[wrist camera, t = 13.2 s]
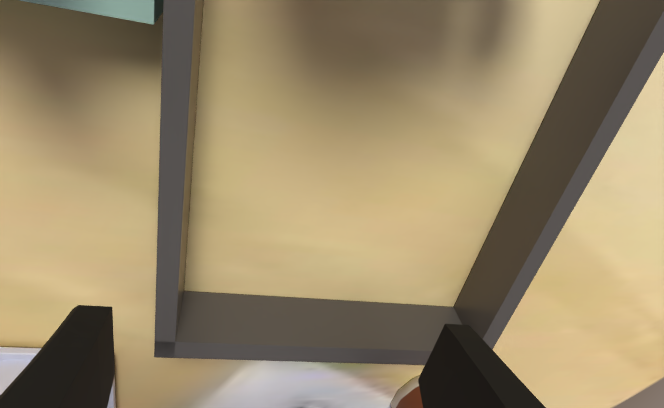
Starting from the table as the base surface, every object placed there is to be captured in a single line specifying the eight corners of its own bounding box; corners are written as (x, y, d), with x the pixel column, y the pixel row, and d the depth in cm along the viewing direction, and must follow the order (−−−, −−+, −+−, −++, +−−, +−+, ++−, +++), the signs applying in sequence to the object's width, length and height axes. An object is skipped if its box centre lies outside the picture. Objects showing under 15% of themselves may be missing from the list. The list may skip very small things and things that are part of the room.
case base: (460, 321, 26) (482, 366, 23) (165, 305, 22) (154, 357, 20) (633, -25, 17) (698, -10, 14) (183, -141, 13) (167, -148, 11)
